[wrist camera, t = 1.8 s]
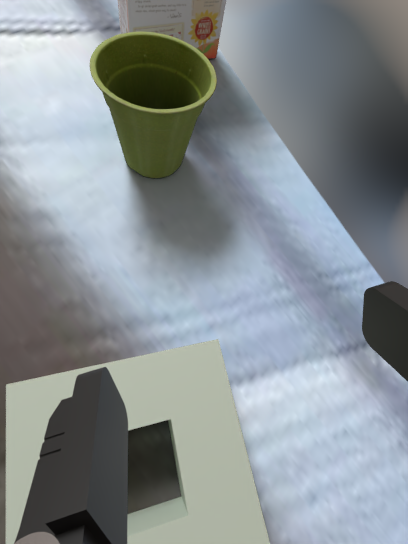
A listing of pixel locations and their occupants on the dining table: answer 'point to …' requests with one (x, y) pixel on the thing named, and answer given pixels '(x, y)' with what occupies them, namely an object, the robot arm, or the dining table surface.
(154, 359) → the hole block
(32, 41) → the dining table surface
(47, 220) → the dining table surface
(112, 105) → the plant pot
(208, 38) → the cracker box
